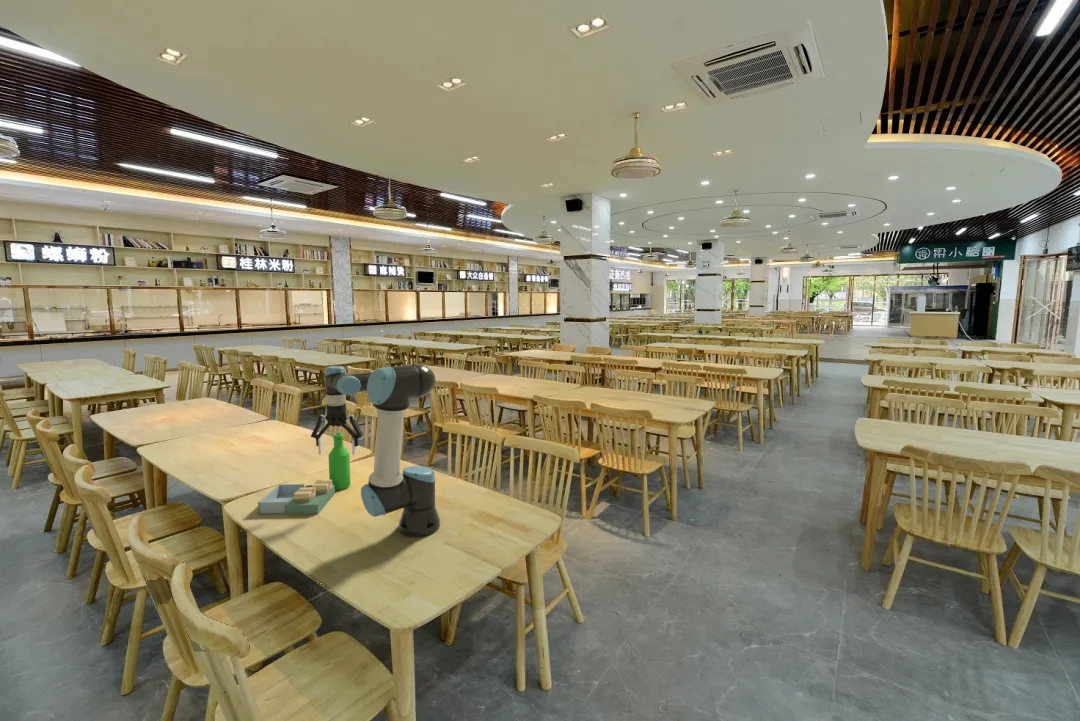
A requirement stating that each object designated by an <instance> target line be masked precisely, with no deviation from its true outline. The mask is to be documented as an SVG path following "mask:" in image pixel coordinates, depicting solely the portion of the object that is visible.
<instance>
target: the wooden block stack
mask: <svg viewBox="0 0 1080 721" xmlns="http://www.w3.org/2000/svg"><path fill="white" fill-rule="evenodd" d="M311 485H312V487H315V489H316V493H328V492H329V491H330V490H331V489H332V480H330V479H317V480H316V481H315V482H314V483H313V484H311Z"/></svg>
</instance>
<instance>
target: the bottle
mask: <svg viewBox="0 0 1080 721" xmlns="http://www.w3.org/2000/svg"><path fill="white" fill-rule="evenodd" d="M332 438H333V448H332V449H331V450H330V452H329V453H328V474H329V477H328V480H332V485H335V491H341V490H345V489H347V488H349V487H350V486H351V465H350V464H351V462H350V460H351V459H350V457H351V456H350V451H349V450H348V449H347V448H346V447H345V445H344V438H345V436H344V433H340V432H339V433H334V434H333V437H332Z"/></svg>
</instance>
